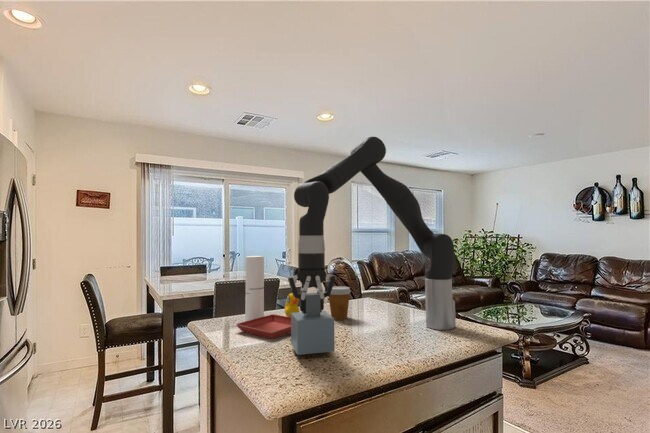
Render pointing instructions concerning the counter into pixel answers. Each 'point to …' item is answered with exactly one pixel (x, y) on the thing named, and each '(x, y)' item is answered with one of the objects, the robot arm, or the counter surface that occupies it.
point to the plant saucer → (267, 326)
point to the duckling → (291, 305)
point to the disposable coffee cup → (339, 302)
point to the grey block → (312, 328)
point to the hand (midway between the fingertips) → (311, 312)
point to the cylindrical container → (254, 287)
